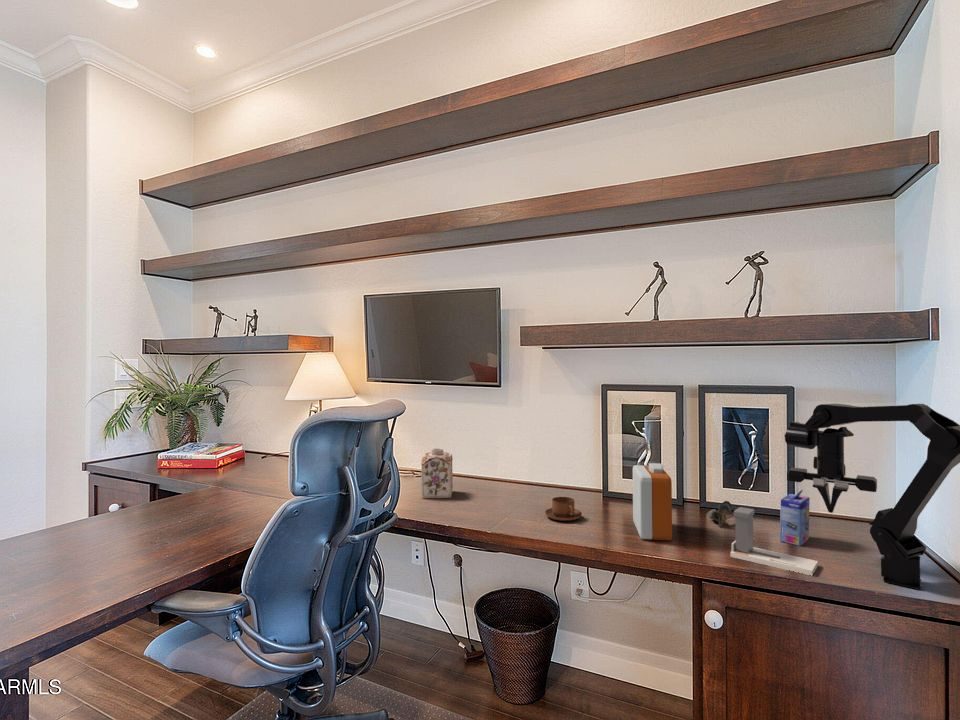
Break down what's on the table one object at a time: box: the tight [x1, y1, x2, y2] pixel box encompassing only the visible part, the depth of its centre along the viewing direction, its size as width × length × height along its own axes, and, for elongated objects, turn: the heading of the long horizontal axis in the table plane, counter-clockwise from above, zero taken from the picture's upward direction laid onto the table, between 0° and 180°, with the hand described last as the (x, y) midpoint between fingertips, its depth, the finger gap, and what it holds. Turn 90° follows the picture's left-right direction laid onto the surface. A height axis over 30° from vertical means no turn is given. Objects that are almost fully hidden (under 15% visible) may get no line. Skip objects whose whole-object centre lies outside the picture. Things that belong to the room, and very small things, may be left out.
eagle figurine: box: [707, 500, 734, 528], centre depth 157 cm, size 8×8×10 cm
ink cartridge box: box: [779, 489, 811, 547], centre depth 142 cm, size 10×6×14 cm, turn 135°
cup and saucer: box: [544, 496, 582, 522], centre depth 164 cm, size 12×12×6 cm
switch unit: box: [730, 539, 819, 577], centre depth 127 cm, size 18×8×3 cm, turn 47°
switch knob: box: [733, 506, 755, 553], centre depth 131 cm, size 4×6×10 cm, turn 138°
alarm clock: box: [632, 462, 673, 541], centre depth 151 cm, size 18×9×21 cm, turn 170°
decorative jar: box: [420, 447, 454, 499], centre depth 195 cm, size 12×12×18 cm
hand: (830, 512), depth 128 cm, fingers closed
